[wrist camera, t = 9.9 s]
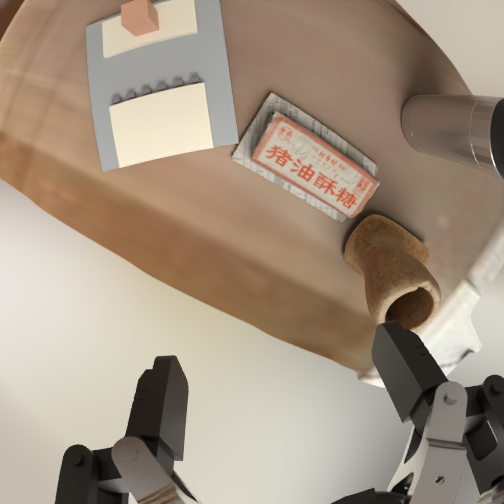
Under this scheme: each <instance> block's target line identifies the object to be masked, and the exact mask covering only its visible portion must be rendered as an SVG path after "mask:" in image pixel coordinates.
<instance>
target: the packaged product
mask: <svg viewBox="0 0 504 504" xmlns="http://www.w3.org/2000/svg"><path fill="white" fill-rule="evenodd" d="M231 159H232V160H234V161H236V162H238V163H240V164H242V165H243V166H245V167H247V168H249V169H250V170H252V171H254V172H256V173H258V174H260V175H261V176H263V177H265V178H267V179H268V180H270V181H272V182H274V183H276V184H277V185H279V186H281V187H283V188H284V189H286V190H288V191H289V192H291V193H293V194H294V195H296V196H298V197H301V198H302V199H303V200H305V201H307V202H308V203H310V204H311V205H313V206H314V207H316V208H318V209H319V210H321V211H323V212H324V213H326V214H328V215H329V216H331V217H332V218H334V219H335V220H337V221H338V222H340V223H341V224H343V222H344V221H345V219H346V218H347V216H348V217H349V218H353V217H355V216H356V215H357V214H358V213H360V212H361V211H362V209H363V208H364V206H365V204H366V203H367V201H368V199H369V198H371V196H372V195H373V194H374V191H375V190H376V188H377V187H378V186H379V185H380V182H379V180H377V178H375V177H374V176H375V175H376V173H377V170H378V166H377V165H376V164H375V163H373V162H372V161H371V160H370V159H368V158H367V157H366V156H365V155H363V154H362V153H361V152H359V151H358V150H357V149H356V148H354V147H353V146H352V145H350V144H349V143H348V142H346V141H345V140H344V139H342V138H341V137H340V136H338V135H337V134H336V133H334V132H333V131H331V130H330V129H328V128H327V127H325V126H324V125H322V124H321V123H319V122H318V121H316V120H315V119H313V118H312V117H310V116H309V115H307V114H306V113H304V112H303V111H301V110H300V109H298V108H296V107H295V106H293V105H292V104H290V103H288V102H287V101H285V100H283V99H281V98H280V97H278V96H277V95H275V94H273V93H271V94H270V95H269V96H268V98H267V99H266V100H265V102H264V103H263V105H262V107H261V108H260V110H259V112H258V114H257V116H256V117H255V119H254V120H253V121H252V123H251V124H250V126H249V127H248V129H247V130H246V132H245V134H244V135H243V137H242V139H241V140H240V142H239V144H238V146H237V148H236V150H235V152H234V154H233V156H232V158H231Z"/></svg>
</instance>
